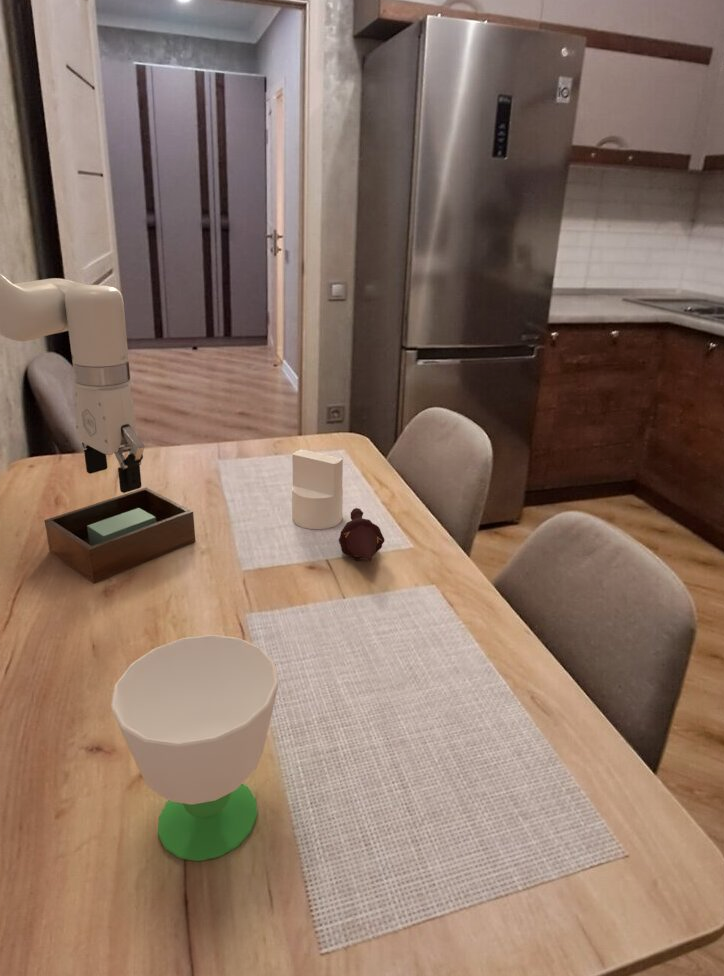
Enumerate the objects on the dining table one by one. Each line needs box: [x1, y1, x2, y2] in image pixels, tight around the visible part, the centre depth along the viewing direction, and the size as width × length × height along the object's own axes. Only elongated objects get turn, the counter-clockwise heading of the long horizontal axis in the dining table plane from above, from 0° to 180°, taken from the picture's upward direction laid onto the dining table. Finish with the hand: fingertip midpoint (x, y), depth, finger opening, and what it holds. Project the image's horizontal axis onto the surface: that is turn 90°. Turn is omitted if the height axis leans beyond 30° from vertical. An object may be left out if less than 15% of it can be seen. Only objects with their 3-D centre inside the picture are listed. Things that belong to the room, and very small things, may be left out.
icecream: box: [338, 507, 385, 562], centre depth 108 cm, size 7×7×15 cm
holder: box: [44, 486, 196, 584], centre depth 107 cm, size 14×18×6 cm
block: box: [87, 508, 156, 546], centre depth 107 cm, size 5×9×4 cm, turn 141°
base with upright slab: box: [291, 448, 344, 530], centre depth 119 cm, size 9×9×12 cm
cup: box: [110, 634, 279, 862], centre depth 60 cm, size 14×14×16 cm
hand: (113, 480), depth 104 cm, fingers open, 9 cm apart
